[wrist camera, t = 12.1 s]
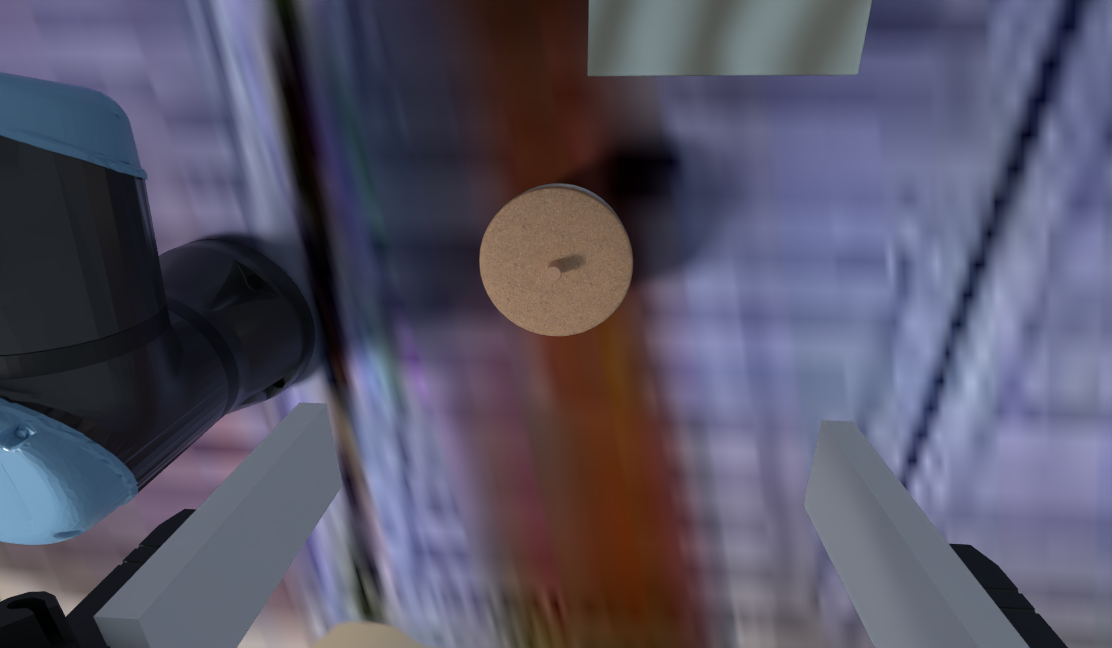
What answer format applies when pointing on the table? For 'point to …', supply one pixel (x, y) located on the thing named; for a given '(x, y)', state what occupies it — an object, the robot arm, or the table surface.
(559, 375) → the table surface
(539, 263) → the lidded jar
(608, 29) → the lid
